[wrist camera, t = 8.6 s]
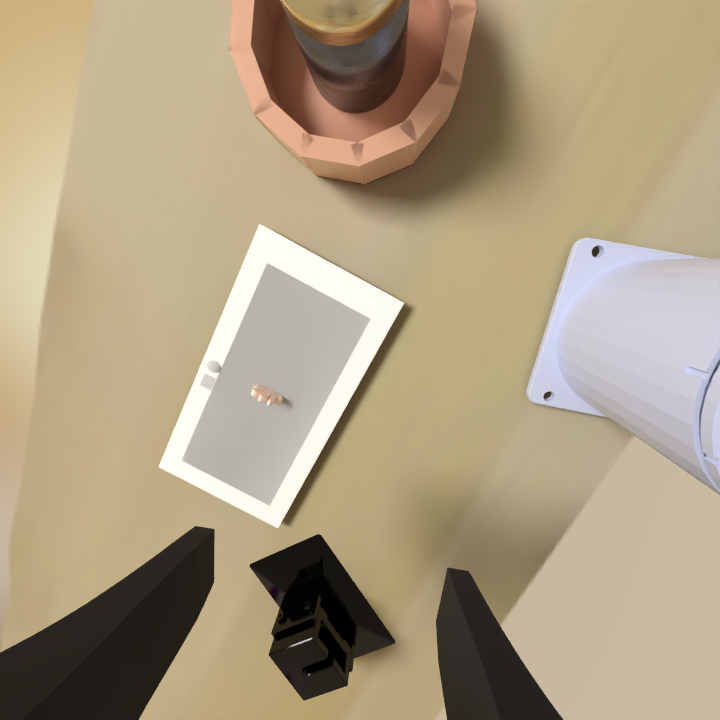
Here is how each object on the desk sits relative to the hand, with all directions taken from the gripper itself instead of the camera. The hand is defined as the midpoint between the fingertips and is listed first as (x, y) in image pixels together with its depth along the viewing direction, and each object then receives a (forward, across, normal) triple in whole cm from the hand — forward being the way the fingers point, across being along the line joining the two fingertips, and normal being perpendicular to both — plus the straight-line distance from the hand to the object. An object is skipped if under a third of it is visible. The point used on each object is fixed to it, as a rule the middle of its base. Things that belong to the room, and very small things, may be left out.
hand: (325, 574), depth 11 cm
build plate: (+10, +1, +12) cm, 16 cm away
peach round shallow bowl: (+9, +2, -17) cm, 20 cm away
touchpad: (+10, +5, -2) cm, 11 cm away
